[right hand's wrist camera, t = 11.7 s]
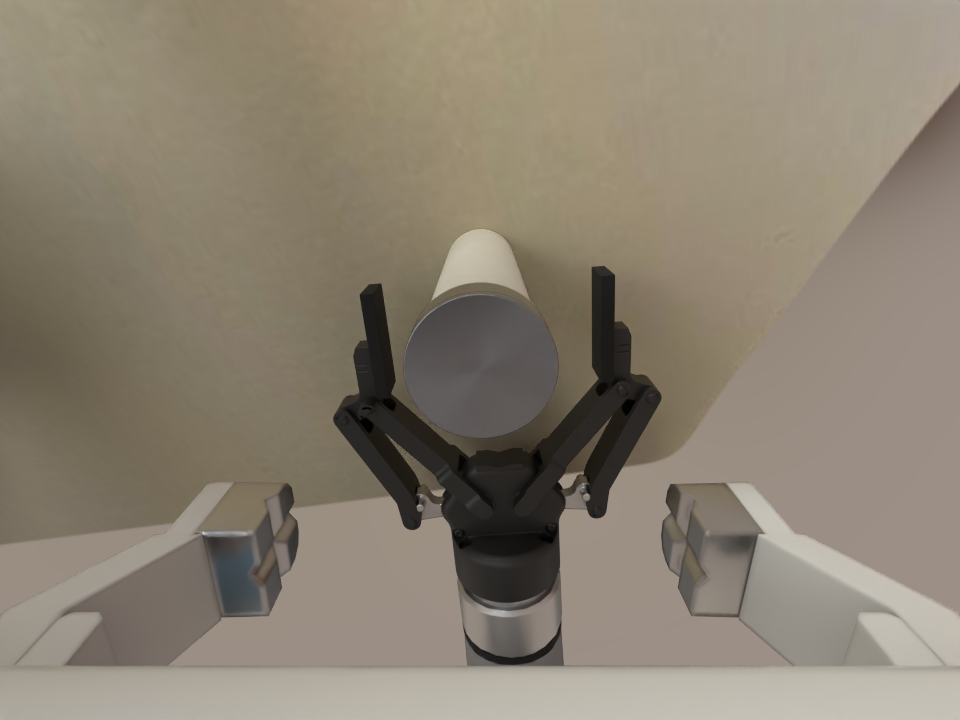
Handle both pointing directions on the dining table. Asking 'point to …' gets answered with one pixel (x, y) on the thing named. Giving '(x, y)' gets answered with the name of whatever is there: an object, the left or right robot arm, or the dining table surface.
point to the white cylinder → (480, 263)
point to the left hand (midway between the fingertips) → (486, 279)
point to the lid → (480, 361)
